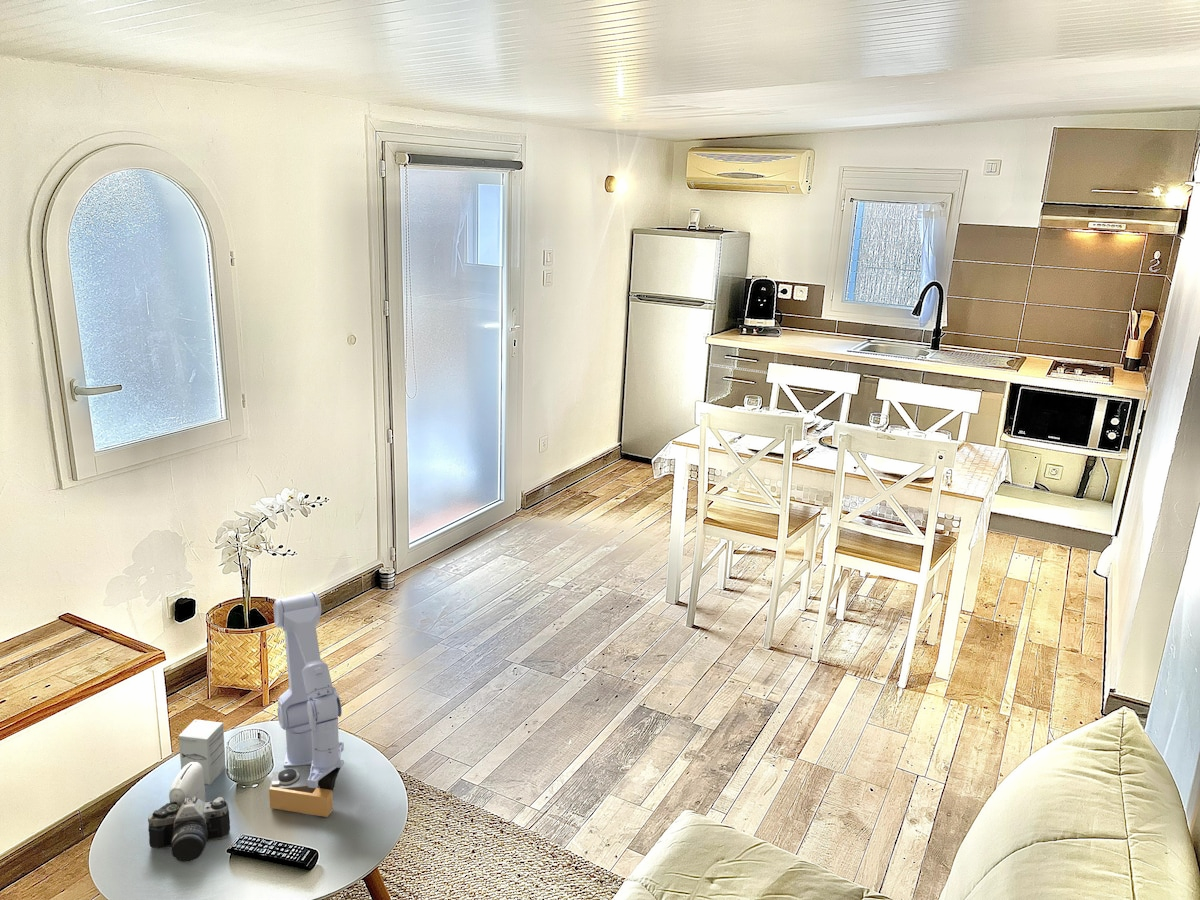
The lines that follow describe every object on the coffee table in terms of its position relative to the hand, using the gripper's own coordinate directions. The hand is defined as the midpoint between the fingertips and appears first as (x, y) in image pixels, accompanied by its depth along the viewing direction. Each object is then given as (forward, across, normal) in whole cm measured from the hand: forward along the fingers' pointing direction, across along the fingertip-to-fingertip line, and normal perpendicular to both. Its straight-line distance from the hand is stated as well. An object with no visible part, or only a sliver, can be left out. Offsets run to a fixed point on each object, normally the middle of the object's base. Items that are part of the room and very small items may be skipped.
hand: (327, 795), depth 201 cm
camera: (+3, -19, +22) cm, 29 cm away
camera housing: (+3, +2, +9) cm, 10 cm away
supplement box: (+3, +5, +33) cm, 34 cm away
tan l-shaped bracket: (+2, -3, +5) cm, 6 cm away
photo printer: (+3, -10, +28) cm, 30 cm away
